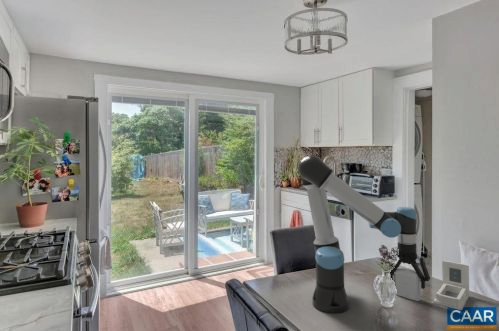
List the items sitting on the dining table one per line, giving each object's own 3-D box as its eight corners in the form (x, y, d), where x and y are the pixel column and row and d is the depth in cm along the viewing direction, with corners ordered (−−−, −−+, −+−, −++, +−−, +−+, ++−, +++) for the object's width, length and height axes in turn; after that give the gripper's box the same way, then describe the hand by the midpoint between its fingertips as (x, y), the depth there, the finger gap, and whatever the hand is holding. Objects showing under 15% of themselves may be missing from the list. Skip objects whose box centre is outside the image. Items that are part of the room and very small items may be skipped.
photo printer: (393, 294, 140) (393, 267, 140) (398, 292, 143) (397, 265, 143) (417, 302, 132) (417, 273, 132) (421, 299, 135) (421, 271, 135)
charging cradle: (433, 303, 131) (433, 270, 131) (443, 289, 144) (443, 260, 144) (461, 310, 124) (461, 276, 124) (469, 296, 137) (469, 264, 137)
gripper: (438, 245, 132) (438, 296, 132) (383, 236, 148) (384, 282, 148) (433, 248, 126) (434, 302, 127) (377, 239, 142) (378, 287, 143)
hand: (407, 291), depth 137 cm, fingers closed on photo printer, 10 cm apart
